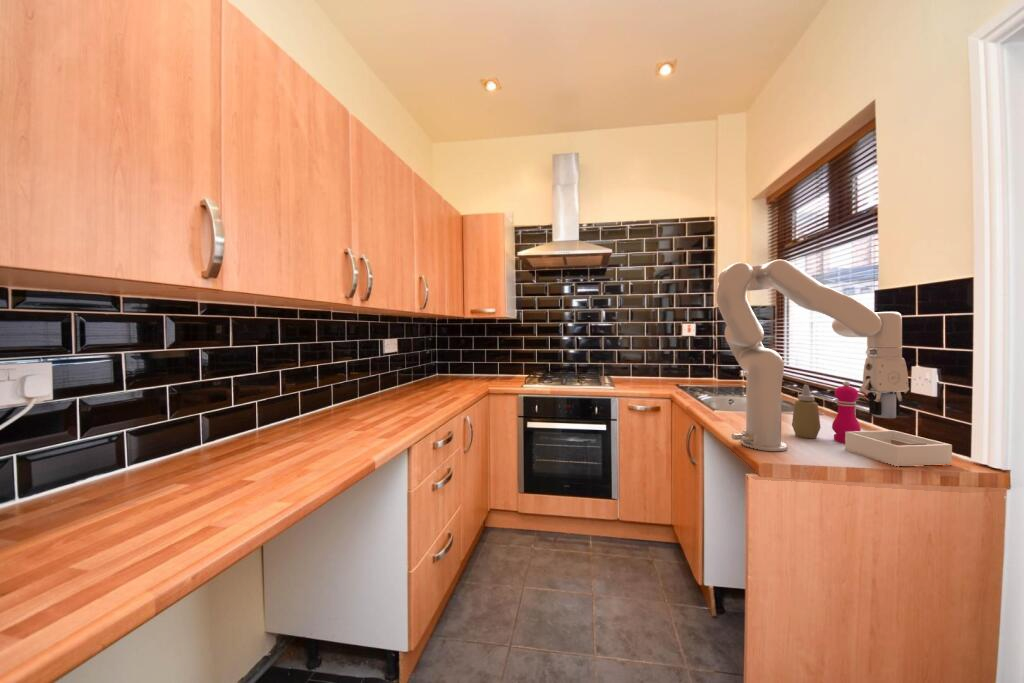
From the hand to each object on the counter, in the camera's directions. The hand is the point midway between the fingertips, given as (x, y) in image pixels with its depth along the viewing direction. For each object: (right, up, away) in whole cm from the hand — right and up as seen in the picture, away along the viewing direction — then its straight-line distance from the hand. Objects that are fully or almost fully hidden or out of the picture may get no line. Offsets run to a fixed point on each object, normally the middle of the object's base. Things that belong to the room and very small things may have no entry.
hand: (884, 413), depth 117 cm
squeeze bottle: (-9, -12, +19) cm, 24 cm away
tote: (0, -12, -3) cm, 12 cm away
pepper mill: (0, -12, +13) cm, 18 cm away
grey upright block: (0, -1, 0) cm, 1 cm away
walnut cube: (0, -12, -7) cm, 13 cm away
